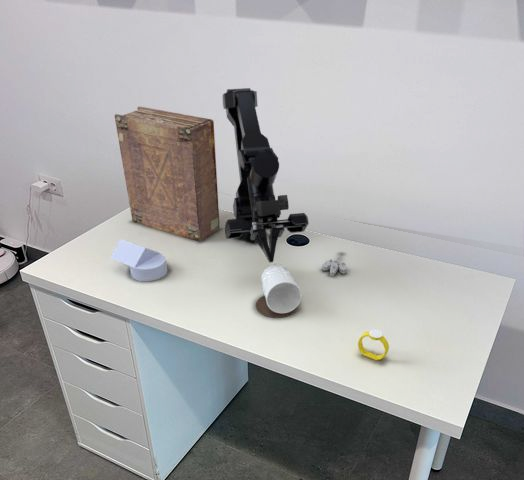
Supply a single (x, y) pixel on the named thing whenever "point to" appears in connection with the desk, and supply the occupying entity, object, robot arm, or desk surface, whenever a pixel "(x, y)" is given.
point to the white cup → (280, 289)
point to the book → (170, 171)
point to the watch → (374, 335)
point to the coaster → (266, 311)
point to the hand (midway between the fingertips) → (271, 262)
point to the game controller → (334, 266)
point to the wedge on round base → (140, 261)
